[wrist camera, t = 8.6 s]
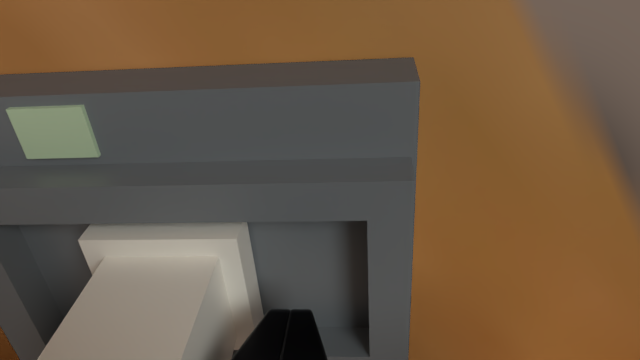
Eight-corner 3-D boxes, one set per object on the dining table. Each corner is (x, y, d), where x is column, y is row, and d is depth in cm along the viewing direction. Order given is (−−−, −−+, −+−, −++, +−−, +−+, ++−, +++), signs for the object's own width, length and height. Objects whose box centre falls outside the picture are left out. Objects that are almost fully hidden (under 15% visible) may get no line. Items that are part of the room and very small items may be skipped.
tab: (264, 321, 11) (232, 471, 8) (136, 319, 11) (64, 465, 9) (245, 212, 10) (198, 353, 7) (97, 214, 10) (-7, 351, 7)
